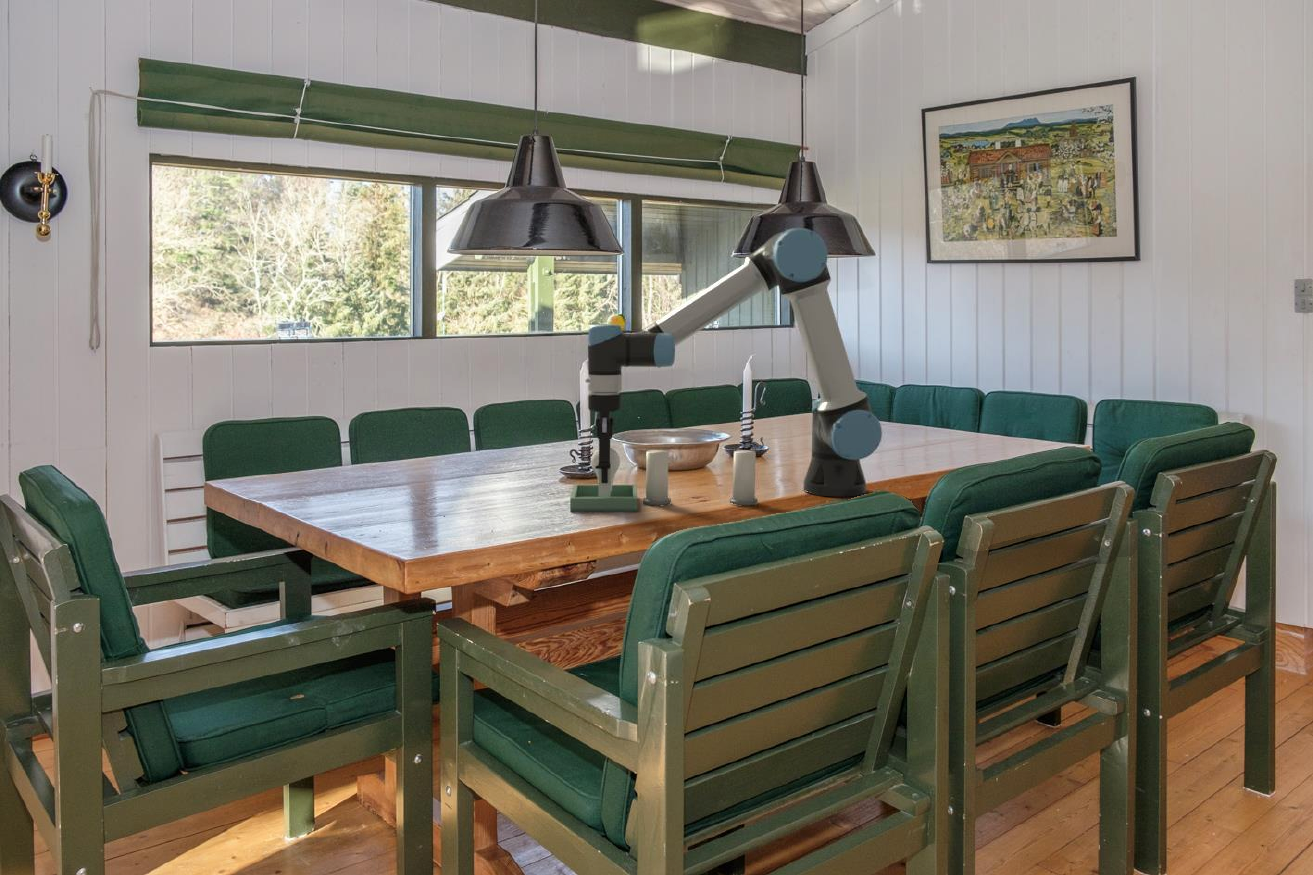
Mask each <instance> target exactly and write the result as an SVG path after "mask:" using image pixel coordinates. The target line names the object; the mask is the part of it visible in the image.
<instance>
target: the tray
mask: <svg viewBox="0 0 1313 875" xmlns="http://www.w3.org/2000/svg"><path fill="white" fill-rule="evenodd" d="M638 499H639V498H638V486H637V484H612V492H611V497H599V484H573V486H572V491H571V494H570V499H569V500H570V508H569V509H570V513H572V512H573V513H575V512H576V513H577V512H579V513H589V512H592V513H595V512H596V513H604V512H605V513H607V512H608V513H616V512H617V513H622V512H623V513H626V512H628V513H637V512H638V507H639V506H638V505H639V504H638Z"/></svg>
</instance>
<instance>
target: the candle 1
mask: <svg viewBox="0 0 1313 875" xmlns="http://www.w3.org/2000/svg"><path fill="white" fill-rule="evenodd" d="M645 454H646V456H645V458H646V459H645V460H646V462H645V465H646V466H645V469H646V470H645V476H646V477H645V479H646V480H645V483H646V484H645V497H644V498H643V499H642V505H644V504H645V506H648V505H650V506H651V507H662V506H661V505H667V506H669V505H668V504H670V503H671V504H672V499H671V497H669V451H667V450H661V449H652V450H646V453H645ZM671 504H670V505H671ZM650 506H649V507H650Z"/></svg>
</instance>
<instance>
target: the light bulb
mask: <svg viewBox="0 0 1313 875" xmlns="http://www.w3.org/2000/svg"><path fill="white" fill-rule="evenodd" d="M620 459H621V458H620V455H619V453H618V452H617V451H616V450H615V449H614V448H612V447H610V463H611V467H610V468H611V492H612V485H613V484H614V478H615V476H616V473H617V472H618V470H619V468H620V465H621V460H620ZM598 463H599V448H597V449H596V450H594V451H593V454H592V455H591V458H590V466H591V468H592V469H593V471H594V474H595V475H596V478H597V483H598V484H599V469H596V466H598Z"/></svg>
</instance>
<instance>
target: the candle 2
mask: <svg viewBox="0 0 1313 875" xmlns="http://www.w3.org/2000/svg"><path fill="white" fill-rule="evenodd" d="M756 456H757V454H756V451H754V450H745V449H744V450H734V451H733V465H732V466H733V467H732V469H733V472H732V474H733V475H732V477H733V480H732V485H733V486H732V497H730V498H729V504H730V503H733V504H737V505H741V506H740V507H754V506H753V505H755V504H756V503H757V502H759V501H758V498H757V497H756V495H755V494H756V459H757V458H756ZM751 505H752V506H751ZM755 506H756V505H755Z"/></svg>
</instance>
